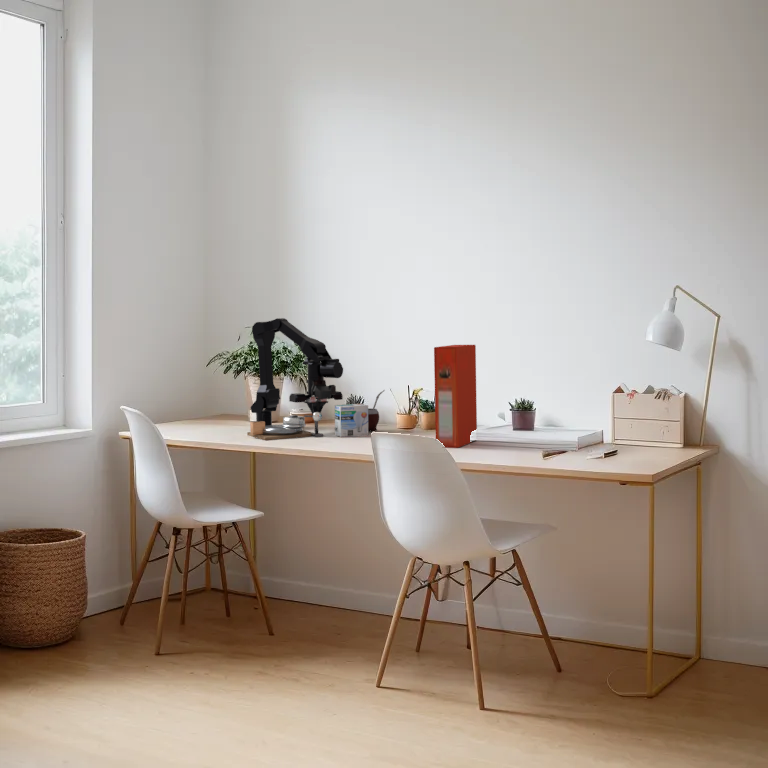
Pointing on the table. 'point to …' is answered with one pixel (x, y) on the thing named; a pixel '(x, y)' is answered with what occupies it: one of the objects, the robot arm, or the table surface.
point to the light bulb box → (351, 420)
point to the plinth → (272, 437)
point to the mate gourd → (373, 416)
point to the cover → (293, 421)
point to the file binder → (455, 394)
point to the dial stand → (316, 423)
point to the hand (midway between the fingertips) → (316, 420)
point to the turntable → (272, 429)
